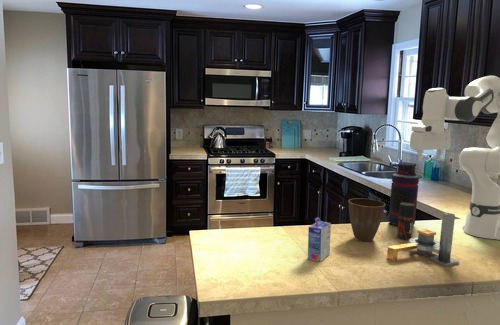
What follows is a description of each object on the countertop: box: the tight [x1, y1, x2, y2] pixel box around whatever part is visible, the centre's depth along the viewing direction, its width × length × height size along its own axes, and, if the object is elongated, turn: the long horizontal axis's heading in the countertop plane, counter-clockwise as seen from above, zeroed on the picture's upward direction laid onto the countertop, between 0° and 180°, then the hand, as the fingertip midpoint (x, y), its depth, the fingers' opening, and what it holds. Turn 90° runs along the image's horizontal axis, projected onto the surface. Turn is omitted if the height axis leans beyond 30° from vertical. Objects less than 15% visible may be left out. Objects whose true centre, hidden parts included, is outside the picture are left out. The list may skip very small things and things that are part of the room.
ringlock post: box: [386, 212, 460, 267], centre depth 153 cm, size 23×18×18 cm
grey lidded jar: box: [416, 228, 437, 256], centre depth 159 cm, size 5×5×9 cm
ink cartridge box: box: [307, 216, 332, 262], centre depth 152 cm, size 10×6×14 cm, turn 149°
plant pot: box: [348, 197, 386, 243], centre depth 174 cm, size 15×15×16 cm
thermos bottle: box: [388, 161, 421, 227], centre depth 196 cm, size 14×12×30 cm
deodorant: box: [396, 202, 415, 241], centre depth 177 cm, size 6×6×15 cm
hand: (429, 160), depth 173 cm, fingers open, 8 cm apart
